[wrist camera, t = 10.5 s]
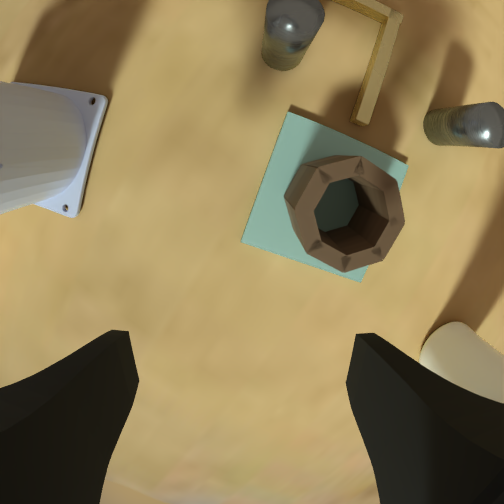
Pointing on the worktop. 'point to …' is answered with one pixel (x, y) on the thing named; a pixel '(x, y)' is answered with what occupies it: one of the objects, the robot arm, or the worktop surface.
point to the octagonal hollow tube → (363, 220)
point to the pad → (331, 203)
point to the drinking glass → (465, 360)
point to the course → (374, 70)
